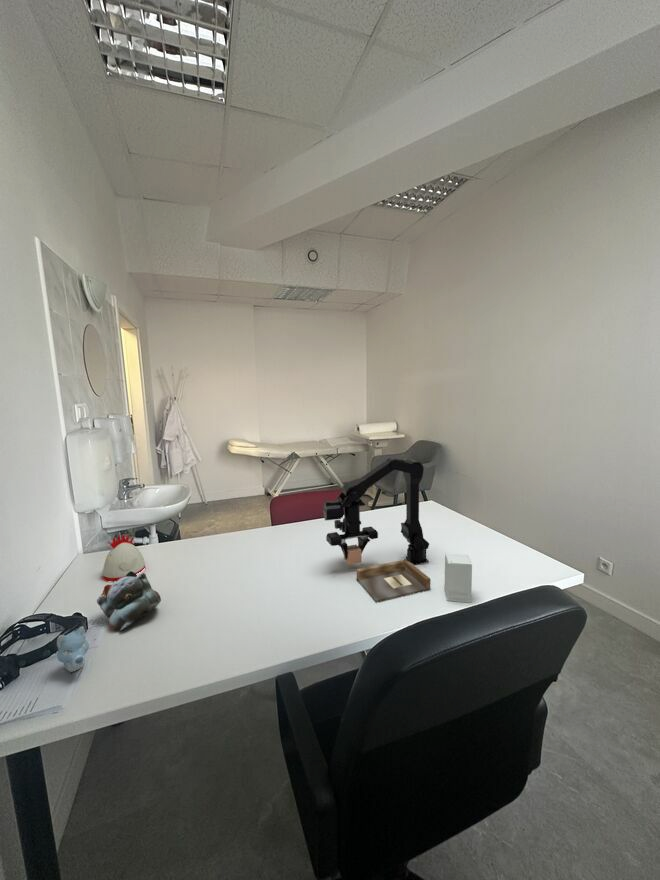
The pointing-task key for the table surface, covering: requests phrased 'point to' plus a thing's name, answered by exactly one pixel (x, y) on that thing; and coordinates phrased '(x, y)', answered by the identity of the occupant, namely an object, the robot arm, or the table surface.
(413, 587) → the arena
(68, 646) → the wolf head
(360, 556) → the terracotta block
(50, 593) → the table surface
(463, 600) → the supplement box
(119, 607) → the lucky cat figurine
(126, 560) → the kitchen timer
